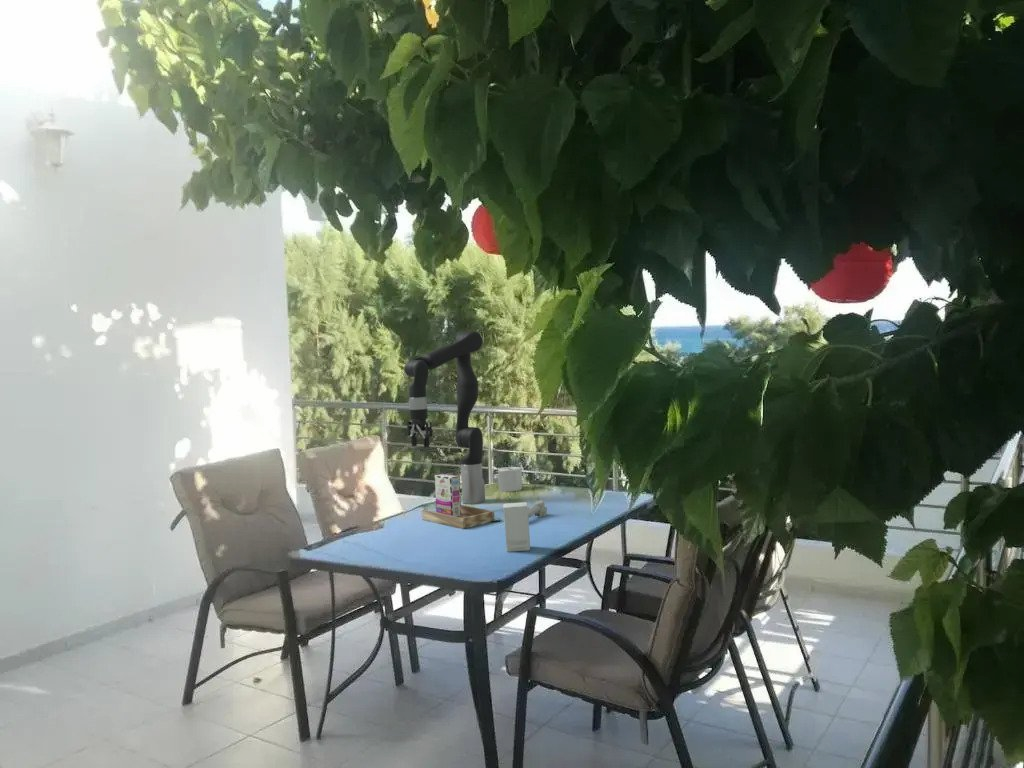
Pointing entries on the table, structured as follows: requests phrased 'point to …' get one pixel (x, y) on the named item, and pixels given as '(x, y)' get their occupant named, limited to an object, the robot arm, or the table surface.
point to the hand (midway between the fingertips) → (420, 446)
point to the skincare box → (516, 527)
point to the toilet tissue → (510, 479)
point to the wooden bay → (467, 519)
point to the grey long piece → (537, 509)
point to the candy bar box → (448, 494)
